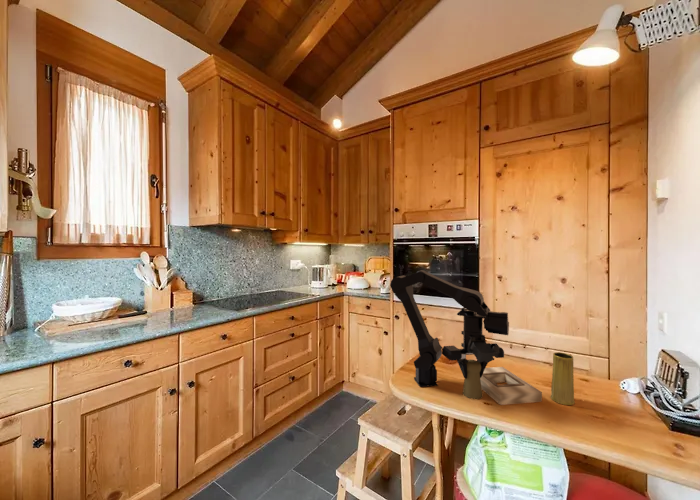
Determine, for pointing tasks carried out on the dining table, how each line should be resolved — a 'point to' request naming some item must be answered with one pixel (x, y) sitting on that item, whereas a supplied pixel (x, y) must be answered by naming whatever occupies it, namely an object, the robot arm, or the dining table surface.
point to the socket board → (508, 387)
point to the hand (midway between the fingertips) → (472, 377)
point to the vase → (562, 379)
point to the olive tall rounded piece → (473, 380)
